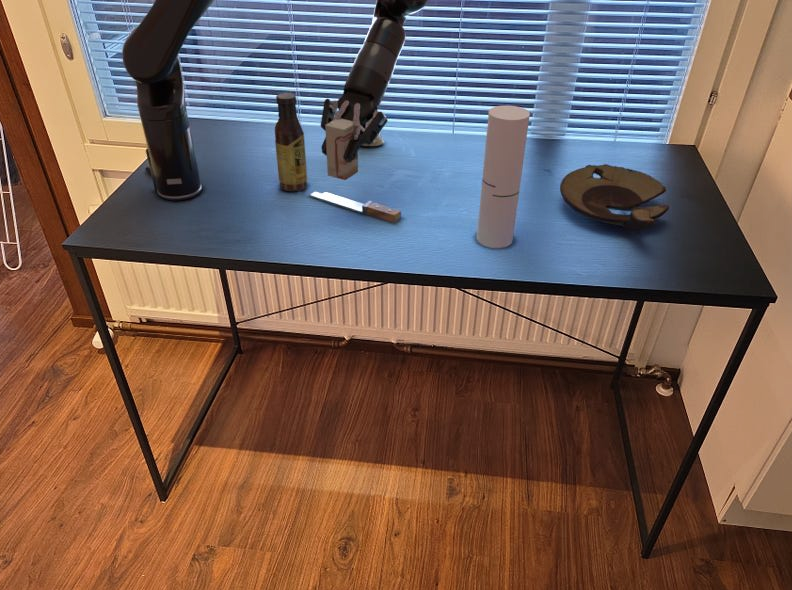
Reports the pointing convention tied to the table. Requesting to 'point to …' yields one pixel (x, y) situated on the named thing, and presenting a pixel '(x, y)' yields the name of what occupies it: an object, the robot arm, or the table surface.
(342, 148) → the tan rectangular box
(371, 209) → the knife
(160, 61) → the robot arm
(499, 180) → the cylindrical container
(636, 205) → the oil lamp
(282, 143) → the sauce bottle
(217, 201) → the table surface
